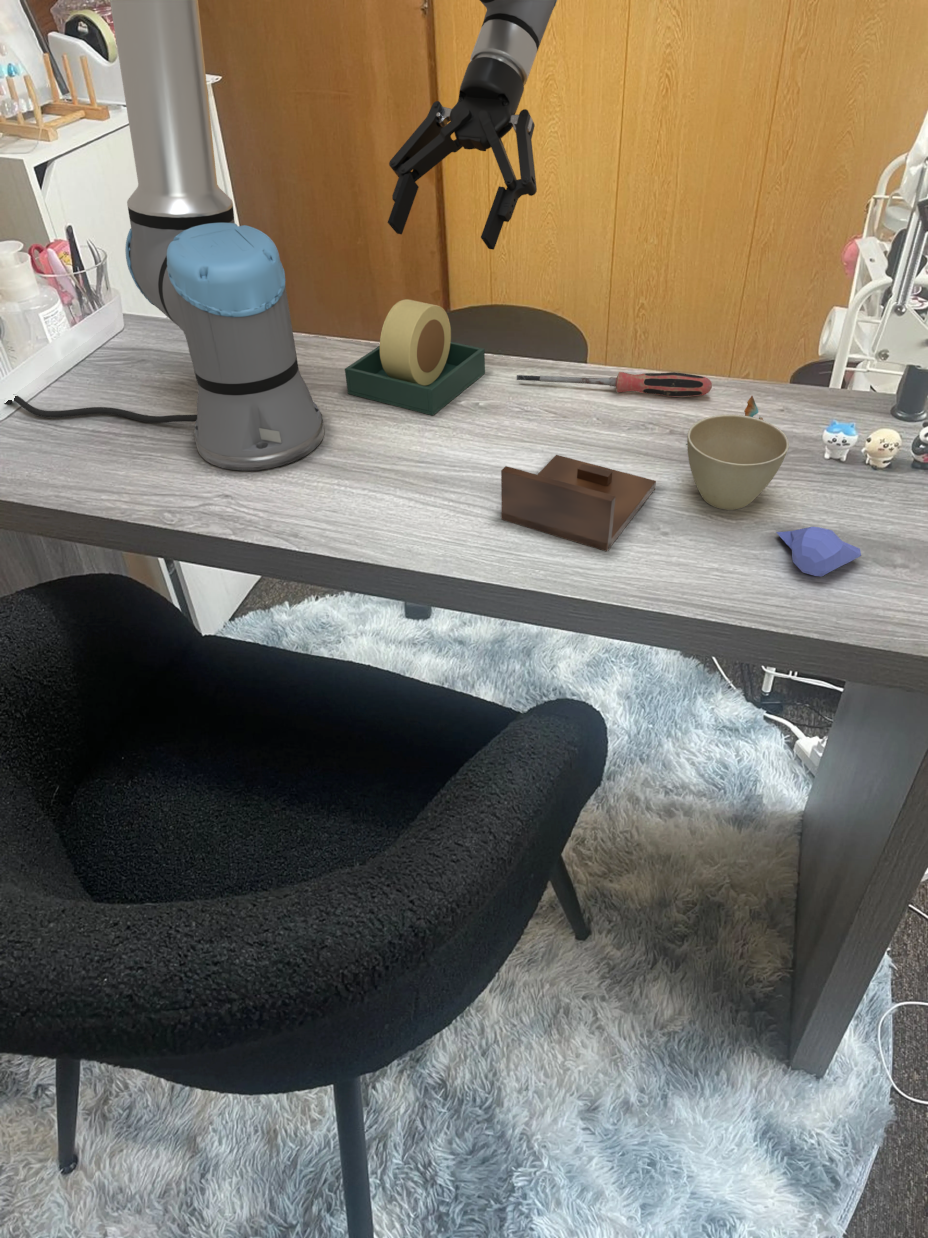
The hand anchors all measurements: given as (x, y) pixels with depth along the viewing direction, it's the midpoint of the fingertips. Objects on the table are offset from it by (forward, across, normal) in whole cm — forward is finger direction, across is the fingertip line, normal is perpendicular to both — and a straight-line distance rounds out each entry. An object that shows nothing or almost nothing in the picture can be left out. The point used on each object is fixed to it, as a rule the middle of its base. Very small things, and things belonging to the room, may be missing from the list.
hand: (439, 236), depth 110 cm
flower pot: (+22, -44, -2) cm, 49 cm away
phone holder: (+28, -31, +4) cm, 42 cm away
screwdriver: (+10, -24, -12) cm, 29 cm away
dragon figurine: (+15, -41, -9) cm, 45 cm away
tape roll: (+16, 0, -7) cm, 18 cm away
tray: (+17, 0, -7) cm, 18 cm away
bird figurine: (+27, -55, +3) cm, 61 cm away
